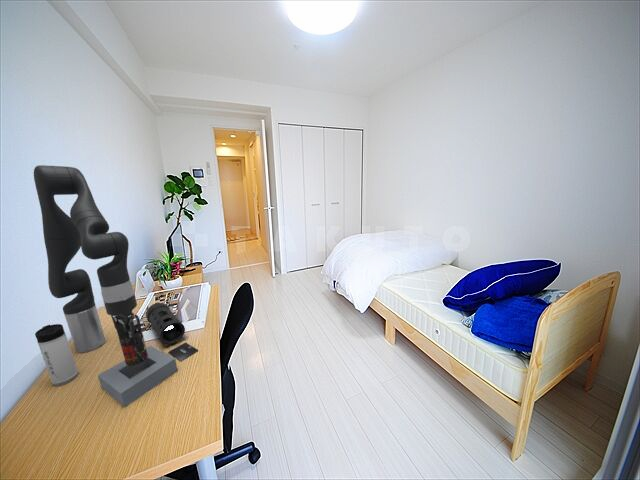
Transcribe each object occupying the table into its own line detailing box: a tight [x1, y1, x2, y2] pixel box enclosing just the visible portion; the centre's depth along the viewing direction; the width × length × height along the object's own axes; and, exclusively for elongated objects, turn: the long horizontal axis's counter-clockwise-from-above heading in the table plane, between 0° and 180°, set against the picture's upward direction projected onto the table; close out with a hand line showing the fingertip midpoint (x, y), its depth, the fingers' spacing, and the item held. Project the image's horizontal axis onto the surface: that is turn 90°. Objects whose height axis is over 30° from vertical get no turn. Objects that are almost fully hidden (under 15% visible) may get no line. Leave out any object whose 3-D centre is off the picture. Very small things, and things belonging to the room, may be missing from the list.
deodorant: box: [114, 314, 148, 366], centre depth 79 cm, size 6×6×15 cm
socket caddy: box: [97, 345, 179, 408], centre depth 81 cm, size 16×16×5 cm
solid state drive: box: [167, 342, 199, 362], centre depth 94 cm, size 7×10×1 cm
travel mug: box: [34, 323, 79, 387], centre depth 81 cm, size 6×7×20 cm
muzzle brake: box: [145, 302, 186, 345], centre depth 108 cm, size 10×28×10 cm, turn 46°
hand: (131, 342), depth 78 cm, fingers closed on deodorant, 6 cm apart
